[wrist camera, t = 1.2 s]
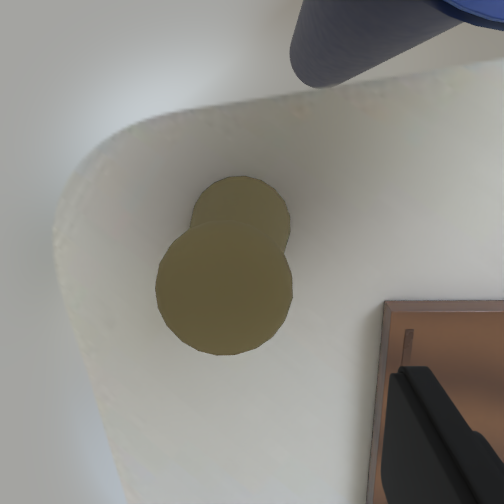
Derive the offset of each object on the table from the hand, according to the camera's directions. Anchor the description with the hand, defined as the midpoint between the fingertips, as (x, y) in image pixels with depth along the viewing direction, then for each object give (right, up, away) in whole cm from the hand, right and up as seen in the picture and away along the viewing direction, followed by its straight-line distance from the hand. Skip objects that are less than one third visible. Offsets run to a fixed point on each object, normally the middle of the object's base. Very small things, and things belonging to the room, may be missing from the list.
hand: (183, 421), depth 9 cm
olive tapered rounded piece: (+1, +5, +15) cm, 16 cm away
